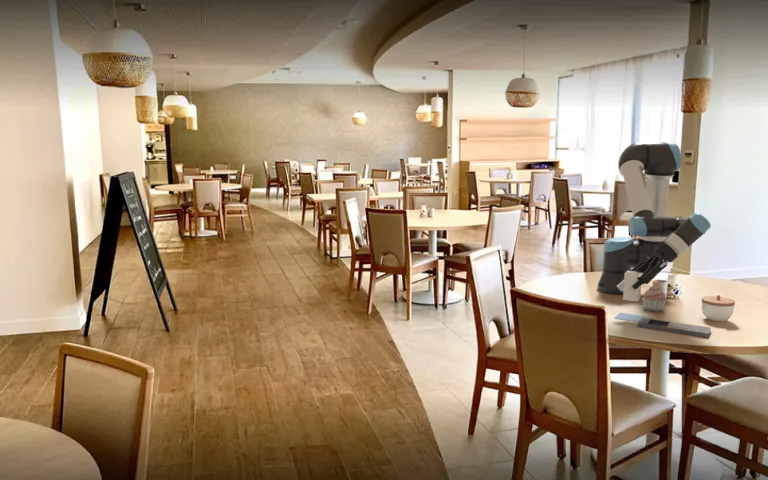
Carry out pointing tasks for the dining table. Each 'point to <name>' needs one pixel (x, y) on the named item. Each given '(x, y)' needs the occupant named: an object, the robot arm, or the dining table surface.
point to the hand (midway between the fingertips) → (622, 291)
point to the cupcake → (654, 299)
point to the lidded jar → (717, 308)
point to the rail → (674, 327)
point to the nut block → (628, 279)
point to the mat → (629, 317)
